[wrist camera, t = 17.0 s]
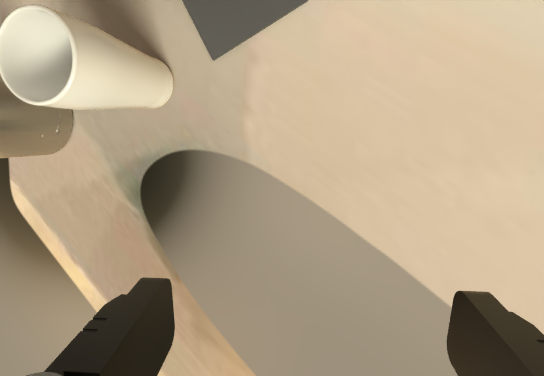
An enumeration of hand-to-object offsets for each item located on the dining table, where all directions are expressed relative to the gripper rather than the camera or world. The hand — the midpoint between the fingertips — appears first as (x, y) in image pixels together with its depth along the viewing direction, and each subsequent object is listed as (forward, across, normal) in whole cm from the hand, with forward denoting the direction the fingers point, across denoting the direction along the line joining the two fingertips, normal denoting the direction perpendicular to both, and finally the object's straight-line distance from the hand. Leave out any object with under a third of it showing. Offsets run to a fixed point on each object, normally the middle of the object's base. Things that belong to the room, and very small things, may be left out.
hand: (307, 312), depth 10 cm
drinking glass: (+30, +16, -7) cm, 35 cm away
